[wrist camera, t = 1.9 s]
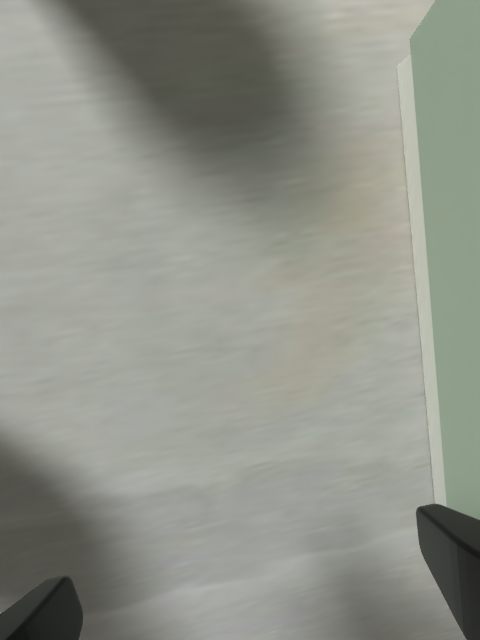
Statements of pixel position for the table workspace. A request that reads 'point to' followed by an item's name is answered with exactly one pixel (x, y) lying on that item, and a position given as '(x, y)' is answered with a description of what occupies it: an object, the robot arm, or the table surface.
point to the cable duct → (421, 272)
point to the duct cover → (452, 228)
